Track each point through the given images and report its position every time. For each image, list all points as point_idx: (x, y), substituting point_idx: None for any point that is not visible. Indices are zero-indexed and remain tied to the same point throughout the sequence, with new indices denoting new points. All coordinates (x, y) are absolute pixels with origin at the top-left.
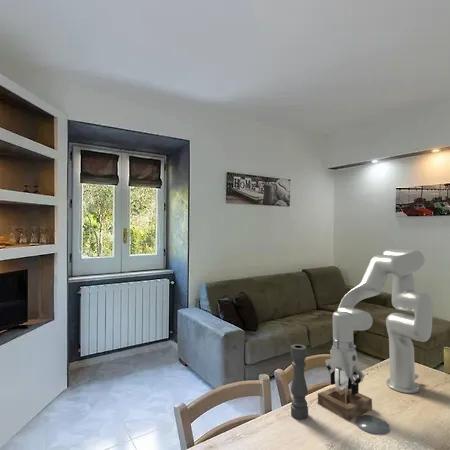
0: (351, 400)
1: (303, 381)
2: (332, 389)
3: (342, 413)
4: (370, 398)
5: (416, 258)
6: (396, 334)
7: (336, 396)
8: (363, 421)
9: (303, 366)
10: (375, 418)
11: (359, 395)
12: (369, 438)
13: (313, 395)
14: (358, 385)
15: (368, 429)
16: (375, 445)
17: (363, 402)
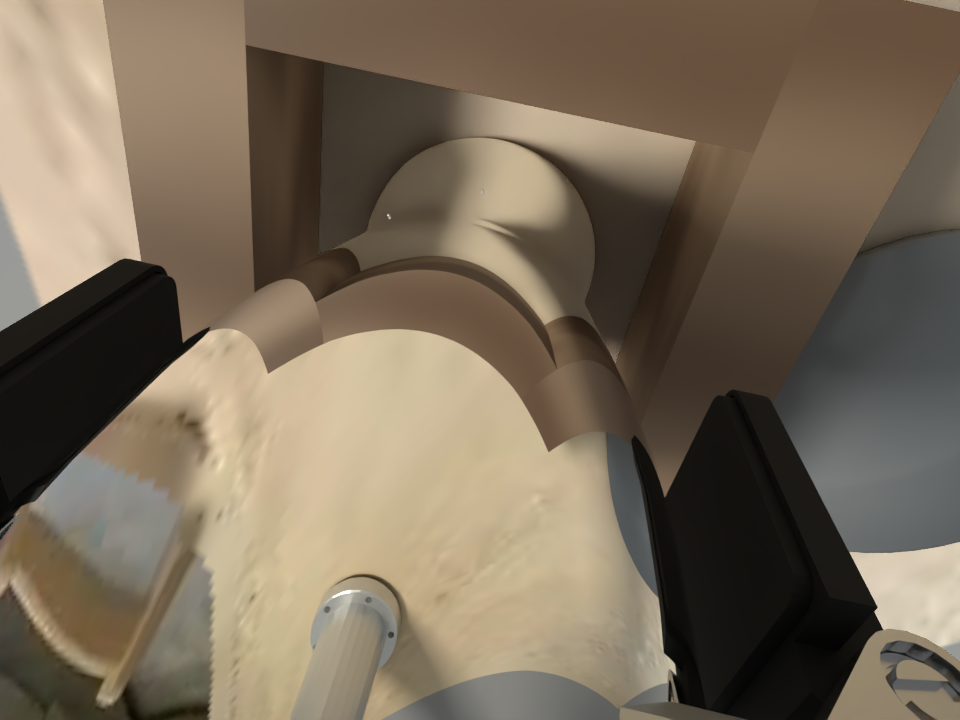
0: (581, 285)
1: None
2: (179, 238)
3: None
4: (953, 24)
5: None
6: None
7: (294, 203)
8: (807, 438)
9: None
10: (954, 287)
11: (677, 76)
12: (897, 598)
13: (55, 268)
14: (873, 615)
15: (881, 525)
16: (956, 641)
17: (821, 311)
